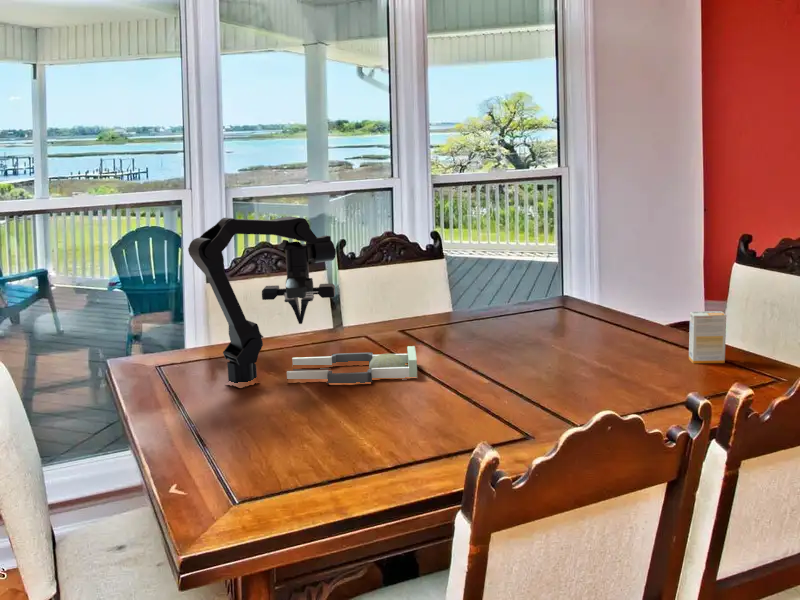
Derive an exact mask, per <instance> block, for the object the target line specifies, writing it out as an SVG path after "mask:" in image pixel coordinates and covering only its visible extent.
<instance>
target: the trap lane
mask: <svg viewBox="0 0 800 600" xmlns="http://www.w3.org/2000/svg"><path fill="white" fill-rule="evenodd" d="M394 354H395V355H398V356H400V357H401V358H402V359H403V361H404V363H408V353H394ZM377 355H378V354H373V352H372V351H371V352H370V351H369V352H348V353H347V352H345V353H332V354H331V356H329V355H328V356H306V357H292V358H291V359H292V366H293V365H332V363H336V362H348V361H369V363H370V361H371V360H372V359H373V358H374V357H376V356H377ZM405 377H409V367H408V366H405V367H389V368H372V369H367V371H361V372H360V371H359V372H358V371H357V372H354V371H353V372H333V370H329V369H305V370H287V371H286V380H287V379H328V382H327V384H328V383H356V382H360V383H365V382H372V383H373V381H372V378H405Z"/></svg>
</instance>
